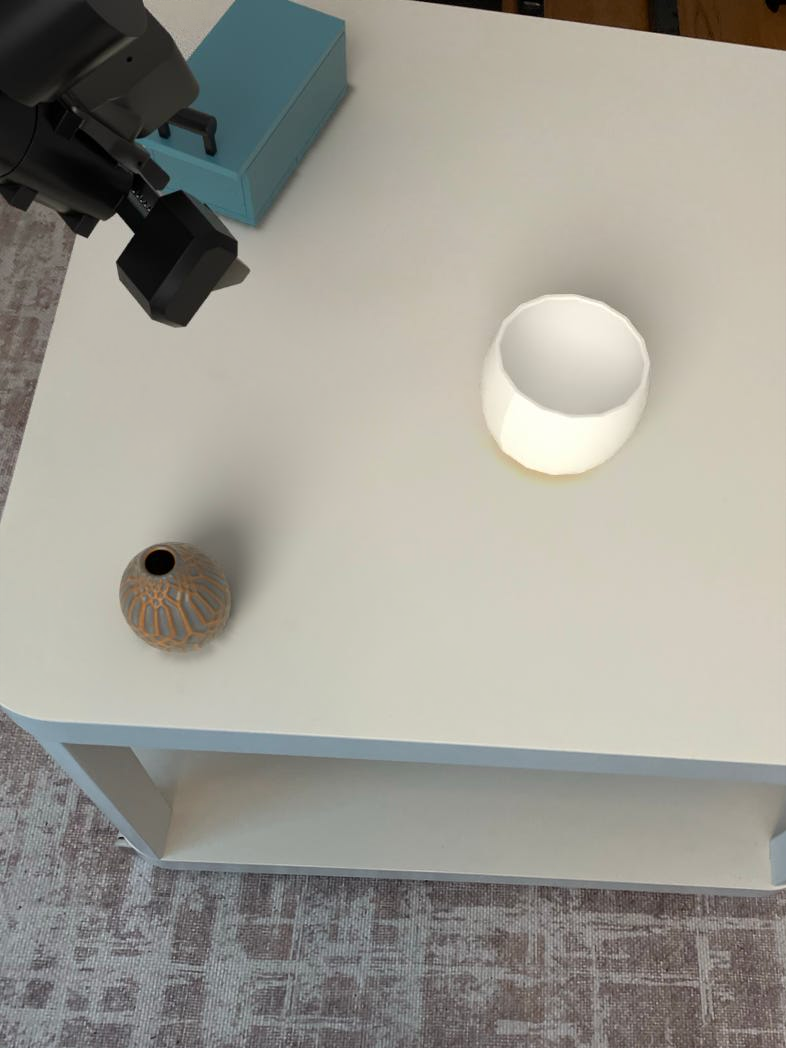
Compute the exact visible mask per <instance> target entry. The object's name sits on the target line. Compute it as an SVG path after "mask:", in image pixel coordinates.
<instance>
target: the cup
mask: <svg viewBox="0 0 786 1048" xmlns="http://www.w3.org/2000/svg"><path fill="white" fill-rule="evenodd" d="M480 373H481V374H480V379H479V385H478V386H479V387H478V388H479V393H480V399H481V405H482V406H481V407H482V413H483V416H484V420H485V423H486V426H487V429H488V432H489V433H490V434H491V436H492V437H493V439H494V440H495V442H496V444H497V445H498V446H499V448H500V449H501V451H502V452H503V453H505V454H506V455H507V456H509V457H510V458H512V459H514V460H515V461H516V462H518V463H519V464H521V465H522V466H523V467H525V468H527V469H530V470H533V471H537V472H540V473H545V474H547V475H551V476H557V475H558V476H559V475H575V474H583V473H584V472H587V471H589V470H591V469H594V468H596V467H598V466H600V465H603V464H604V463H606V462H607V461H608V460H609V459H610V458H612V457H613V456H614V455H615V454H616V453H617V452H618V451H619V450H620V449H621V448H622V447H623V445H624V444H625V443H626V442H627V441H628V440H629V439H630V437H632V435H633V434H634V433H635V432H636V430H637V427H638V426H639V423H640V422H641V418H642V416H643V414H644V412H645V409H646V404H647V400H648V396H649V391H650V387H651V381H652V380H651V378H652V376H651V375H652V363H651V359H650V356H649V352H648V349H647V345H646V340H645V339H644V338H643V336H642V335H641V334H640V332H639V331H638V329H637V328H636V327H635V325H633V323H632V322H631V321H630V320H629V318H628V317H627V316H626V315H624V314H623V313H621V312H619V311H618V310H616V309H615V308H613V307H612V306H611V305H608V303H605V302H604V301H602V300H597V299H594V298H591V297H587V296H583V295H580V294H575V293H561V294H559V293H558V294H555V293H554V294H543V295H541V296H539V297H536V298H534V299H530V300H528V301H526V302H523V303H520V304H518V306H516V307H515V308H514V309H513V310H512V311H511V312H510V313H509V314H508V315H507V316H506V317H505V318H504V319H503V320H502V321H501V322H500V323H499V325H498V327H497V328H496V330H495V332H494V333H493V335H492V336H491V339H490V341H489V344H488V347H487V351H486V353H485V357H484V360H483V363H482V367H481V372H480Z"/></svg>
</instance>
